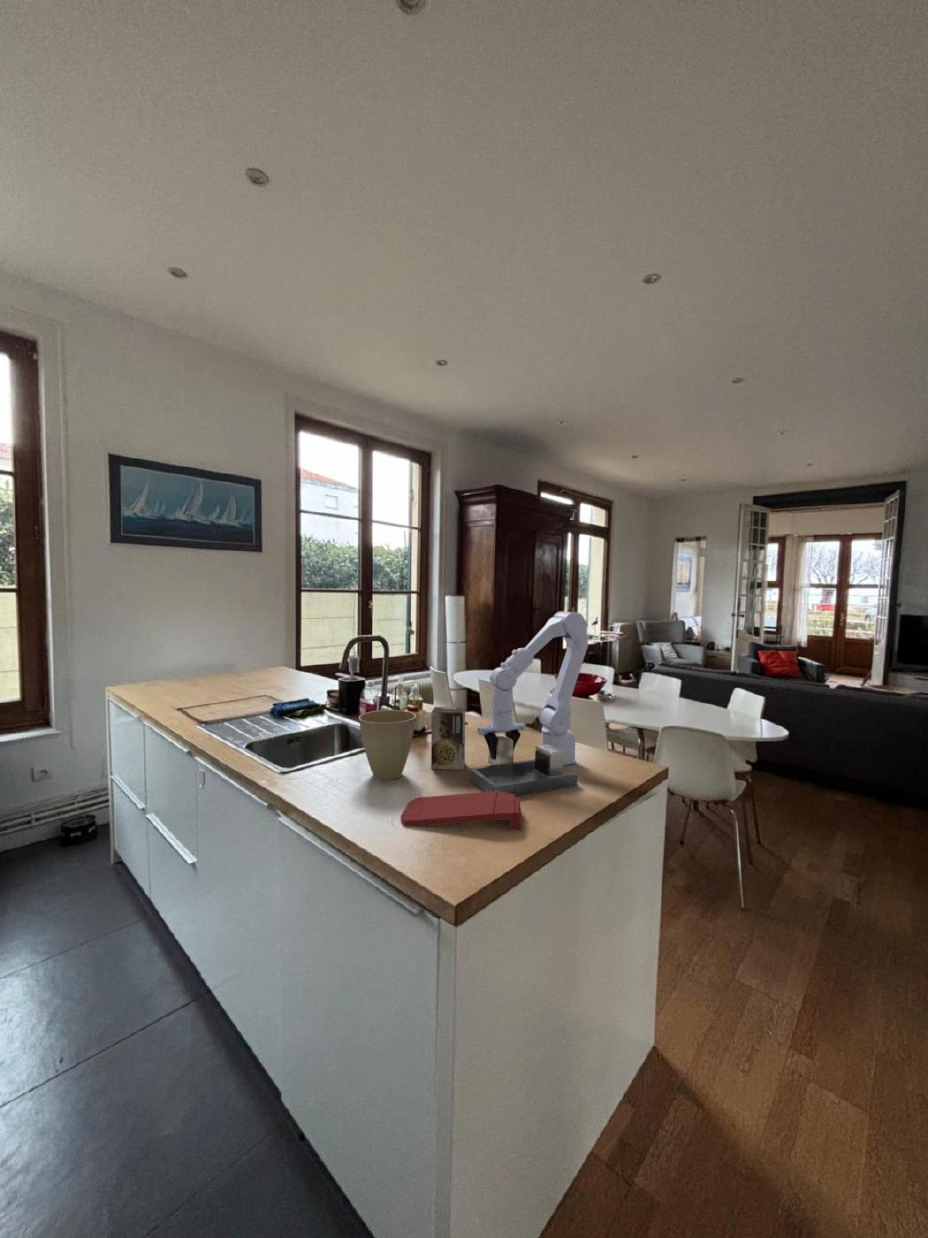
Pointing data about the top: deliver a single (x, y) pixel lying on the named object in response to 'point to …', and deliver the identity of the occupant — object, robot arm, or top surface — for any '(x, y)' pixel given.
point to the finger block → (503, 751)
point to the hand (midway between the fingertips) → (501, 757)
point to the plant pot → (387, 741)
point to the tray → (525, 774)
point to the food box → (448, 738)
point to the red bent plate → (463, 809)
